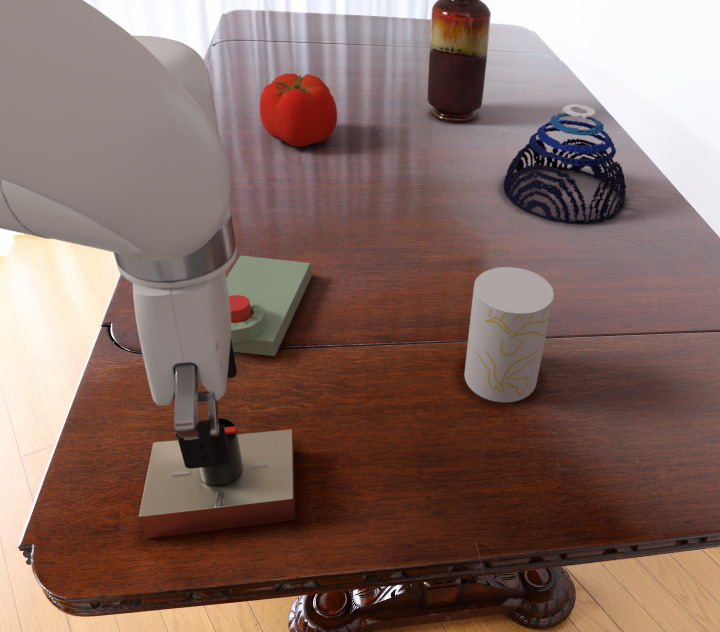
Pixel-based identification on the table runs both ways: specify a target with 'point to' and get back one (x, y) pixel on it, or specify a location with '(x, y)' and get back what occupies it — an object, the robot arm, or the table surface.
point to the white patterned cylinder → (507, 333)
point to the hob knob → (231, 470)
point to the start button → (239, 308)
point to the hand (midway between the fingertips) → (213, 417)
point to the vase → (458, 58)
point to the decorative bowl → (577, 165)
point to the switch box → (266, 301)
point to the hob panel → (220, 489)
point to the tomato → (298, 109)
